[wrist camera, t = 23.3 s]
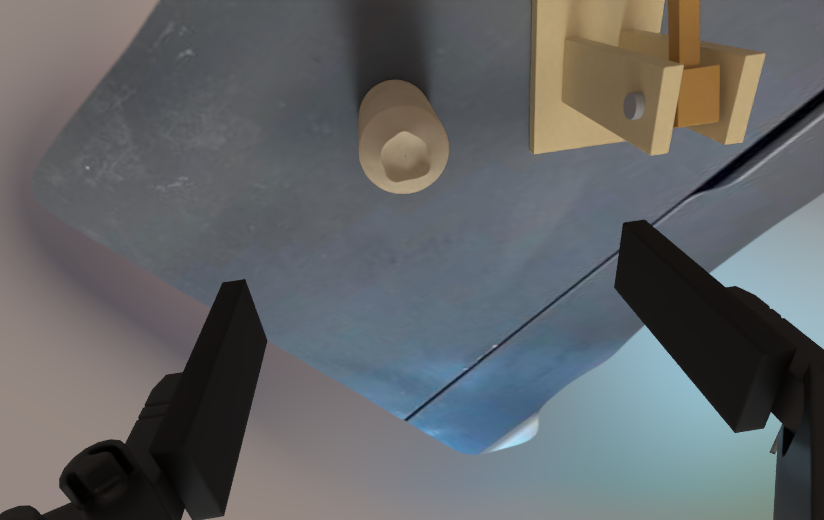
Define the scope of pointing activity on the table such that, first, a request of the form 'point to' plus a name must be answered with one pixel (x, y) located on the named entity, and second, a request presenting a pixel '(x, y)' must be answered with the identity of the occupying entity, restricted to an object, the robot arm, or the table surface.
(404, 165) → the candle
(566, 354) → the table surface
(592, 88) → the bracket
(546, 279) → the table surface
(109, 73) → the table surface
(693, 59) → the lever
